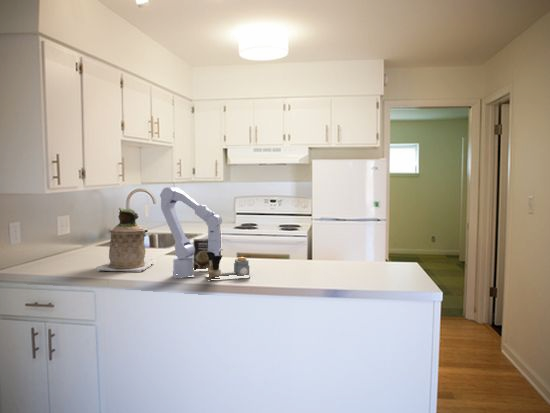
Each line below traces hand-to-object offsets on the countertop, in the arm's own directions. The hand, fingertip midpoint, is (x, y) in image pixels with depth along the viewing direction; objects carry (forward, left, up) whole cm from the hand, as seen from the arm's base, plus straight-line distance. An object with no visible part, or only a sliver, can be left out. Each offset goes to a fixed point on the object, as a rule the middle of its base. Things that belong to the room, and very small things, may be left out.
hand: (214, 268), depth 194 cm
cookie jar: (-39, +38, -5) cm, 55 cm away
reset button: (+13, 0, +2) cm, 14 cm away
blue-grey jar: (+13, 0, -4) cm, 14 cm away
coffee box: (-2, +19, -5) cm, 20 cm away
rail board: (+7, +1, -5) cm, 8 cm away
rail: (+4, 0, -5) cm, 6 cm away
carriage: (0, 0, -3) cm, 3 cm away
